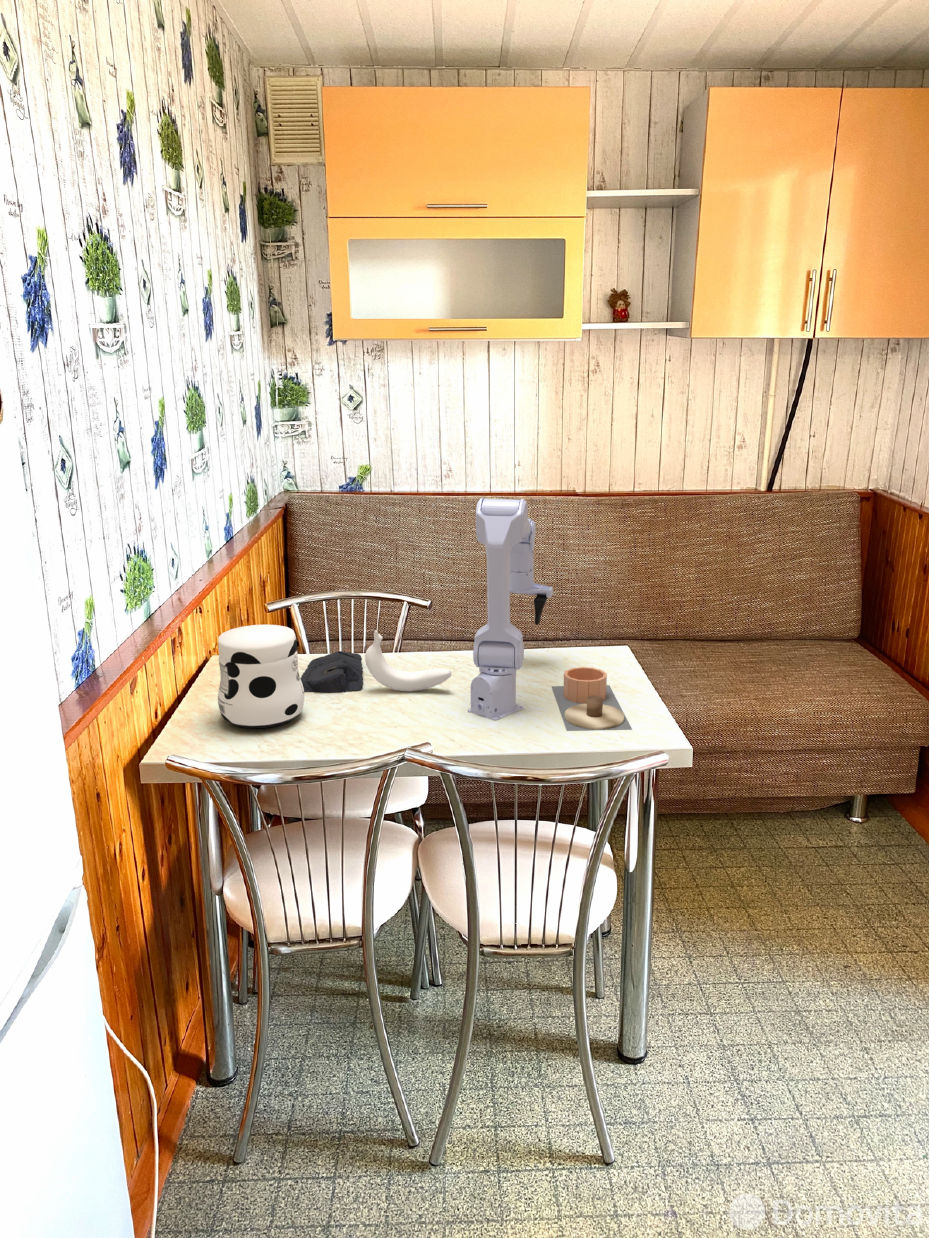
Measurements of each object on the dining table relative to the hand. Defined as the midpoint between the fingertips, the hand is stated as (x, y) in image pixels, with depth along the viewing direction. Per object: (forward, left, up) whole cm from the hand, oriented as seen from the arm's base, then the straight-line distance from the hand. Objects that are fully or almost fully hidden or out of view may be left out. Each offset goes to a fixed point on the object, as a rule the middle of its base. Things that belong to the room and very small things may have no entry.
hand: (522, 621), depth 220 cm
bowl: (-9, -25, -10) cm, 28 cm away
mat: (-13, -29, -10) cm, 34 cm away
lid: (-17, -34, -10) cm, 39 cm away
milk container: (-62, +17, -11) cm, 66 cm away
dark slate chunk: (-36, +26, -11) cm, 46 cm away
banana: (-31, +6, -11) cm, 34 cm away
